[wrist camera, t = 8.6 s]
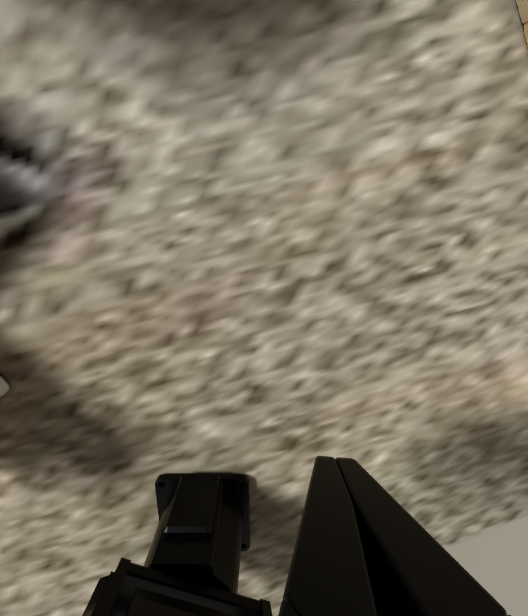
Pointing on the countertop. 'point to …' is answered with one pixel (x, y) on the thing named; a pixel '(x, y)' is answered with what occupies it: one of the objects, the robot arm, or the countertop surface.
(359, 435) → the countertop surface
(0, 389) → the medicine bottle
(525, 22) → the stack of blocks
